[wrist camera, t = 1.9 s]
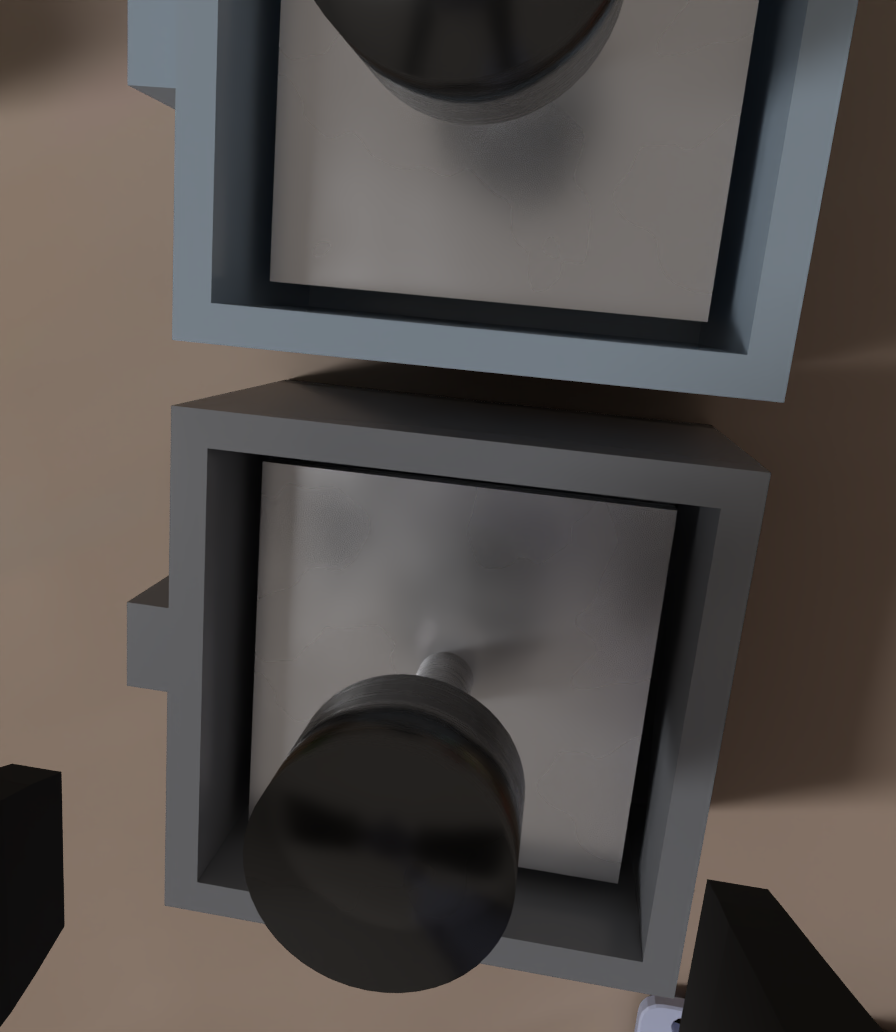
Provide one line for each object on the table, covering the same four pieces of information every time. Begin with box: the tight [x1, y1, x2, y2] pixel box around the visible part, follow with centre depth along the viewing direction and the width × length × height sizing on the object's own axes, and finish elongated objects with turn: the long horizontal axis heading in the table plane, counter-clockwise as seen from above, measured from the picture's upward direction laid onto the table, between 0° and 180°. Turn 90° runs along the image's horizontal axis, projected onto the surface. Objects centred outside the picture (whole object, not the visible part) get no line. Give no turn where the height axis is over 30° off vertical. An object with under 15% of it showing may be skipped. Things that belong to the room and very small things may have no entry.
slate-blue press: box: [128, 0, 858, 403], centre depth 14 cm, size 10×9×6 cm
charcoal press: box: [127, 380, 771, 999], centre depth 17 cm, size 10×9×6 cm
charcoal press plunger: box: [243, 458, 677, 993], centre depth 13 cm, size 7×7×6 cm
